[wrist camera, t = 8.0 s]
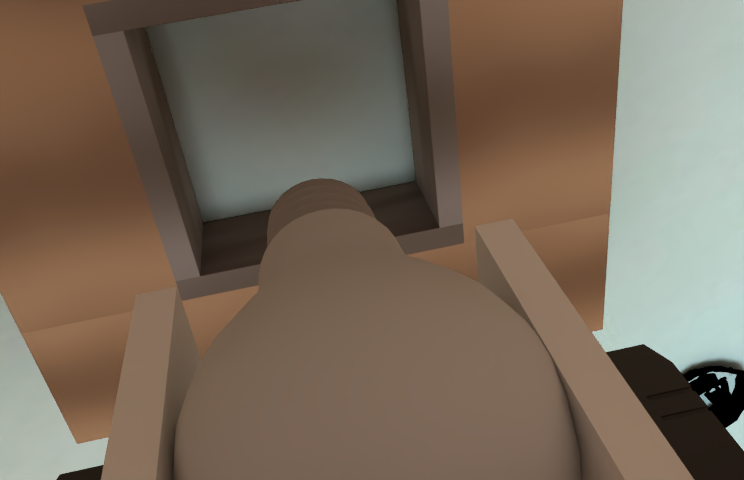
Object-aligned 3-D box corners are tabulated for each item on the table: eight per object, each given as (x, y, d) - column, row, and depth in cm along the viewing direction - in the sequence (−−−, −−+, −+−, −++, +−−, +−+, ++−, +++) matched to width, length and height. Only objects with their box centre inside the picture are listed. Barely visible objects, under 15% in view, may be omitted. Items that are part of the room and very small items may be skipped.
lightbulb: (448, 91, 17) (736, 437, 8) (421, 303, 20) (602, 733, 11) (181, 90, 16) (131, 499, 6) (197, 315, 19) (178, 810, 9)
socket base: (-172, -200, 18) (-250, -202, 15) (580, -307, 20) (643, -327, 17) (92, 378, 29) (77, 443, 26) (565, 278, 30) (602, 329, 27)
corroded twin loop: (758, 386, 37) (771, 400, 36) (631, 474, 38) (640, 489, 38) (715, 335, 34) (728, 349, 33) (583, 432, 36) (591, 447, 35)
